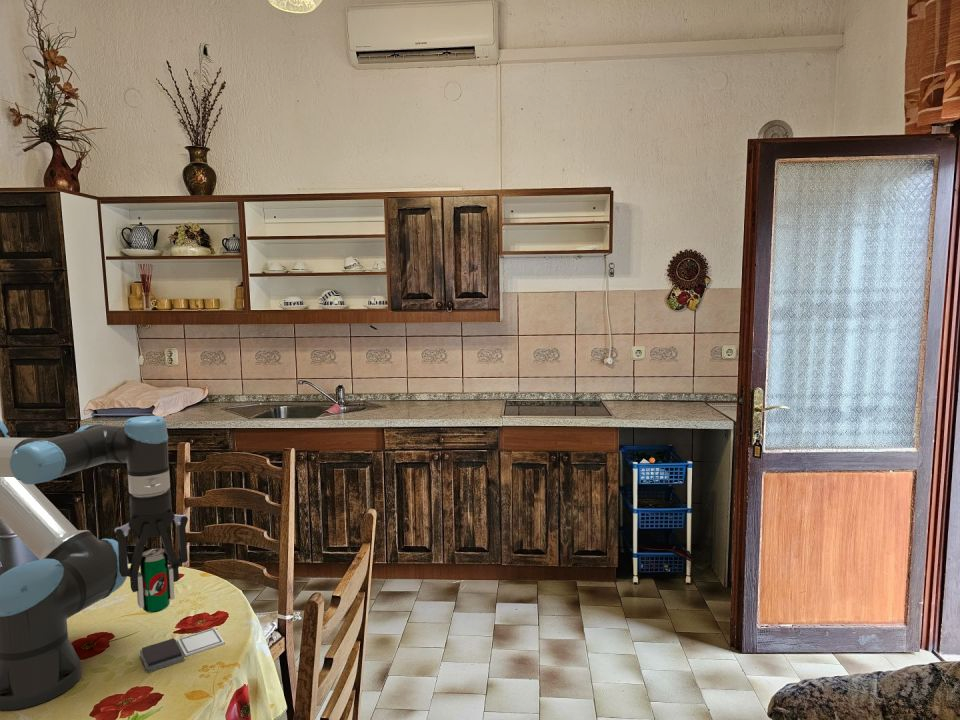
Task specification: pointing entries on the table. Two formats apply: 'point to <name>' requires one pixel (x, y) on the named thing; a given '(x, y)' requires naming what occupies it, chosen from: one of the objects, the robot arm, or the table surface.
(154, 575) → the soda can
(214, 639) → the print card
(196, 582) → the table surface
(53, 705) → the table surface
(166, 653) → the ink pad
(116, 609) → the table surface
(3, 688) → the robot arm
